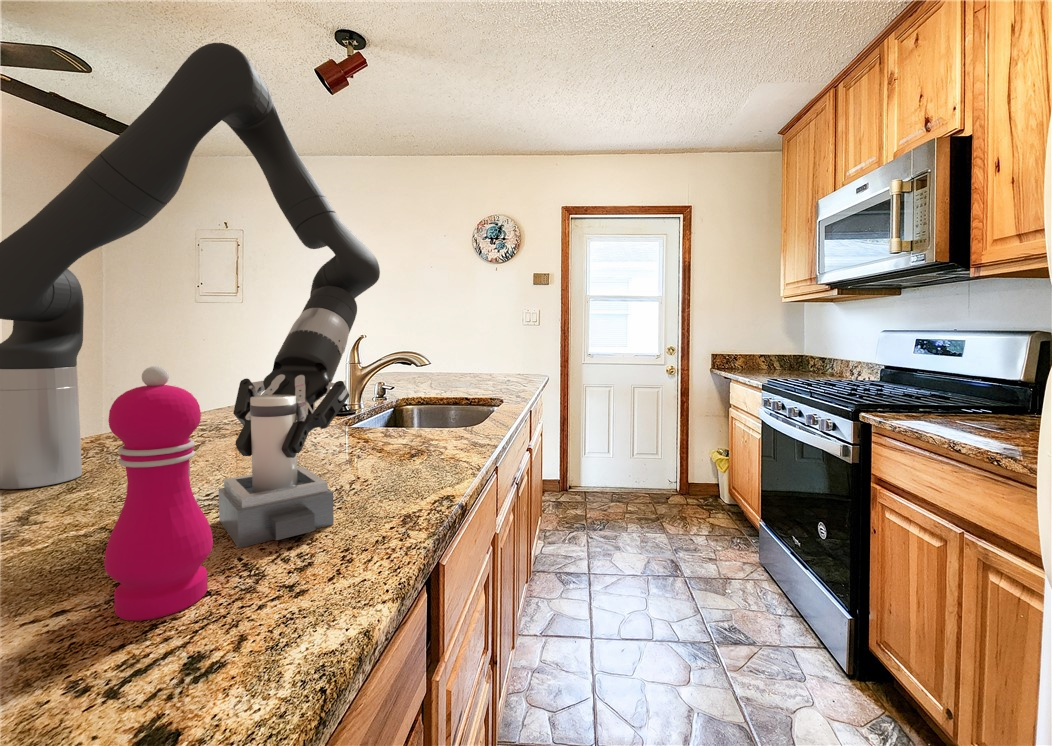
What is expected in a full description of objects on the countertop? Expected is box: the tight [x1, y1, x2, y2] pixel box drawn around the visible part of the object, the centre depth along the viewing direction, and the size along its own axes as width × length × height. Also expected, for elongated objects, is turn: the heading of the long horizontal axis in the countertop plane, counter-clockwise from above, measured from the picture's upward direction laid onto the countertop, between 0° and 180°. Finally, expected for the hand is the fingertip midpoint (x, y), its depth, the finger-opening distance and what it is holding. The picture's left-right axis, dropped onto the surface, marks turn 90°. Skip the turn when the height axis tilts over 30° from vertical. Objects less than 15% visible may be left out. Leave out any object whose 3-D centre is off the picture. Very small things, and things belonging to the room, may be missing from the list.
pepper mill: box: [104, 365, 214, 622], centre depth 39 cm, size 7×7×20 cm
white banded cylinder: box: [250, 394, 298, 493], centre depth 56 cm, size 5×5×11 cm
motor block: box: [218, 466, 335, 549], centre depth 56 cm, size 12×10×5 cm
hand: (265, 452), depth 54 cm, fingers closed on white banded cylinder, 4 cm apart
